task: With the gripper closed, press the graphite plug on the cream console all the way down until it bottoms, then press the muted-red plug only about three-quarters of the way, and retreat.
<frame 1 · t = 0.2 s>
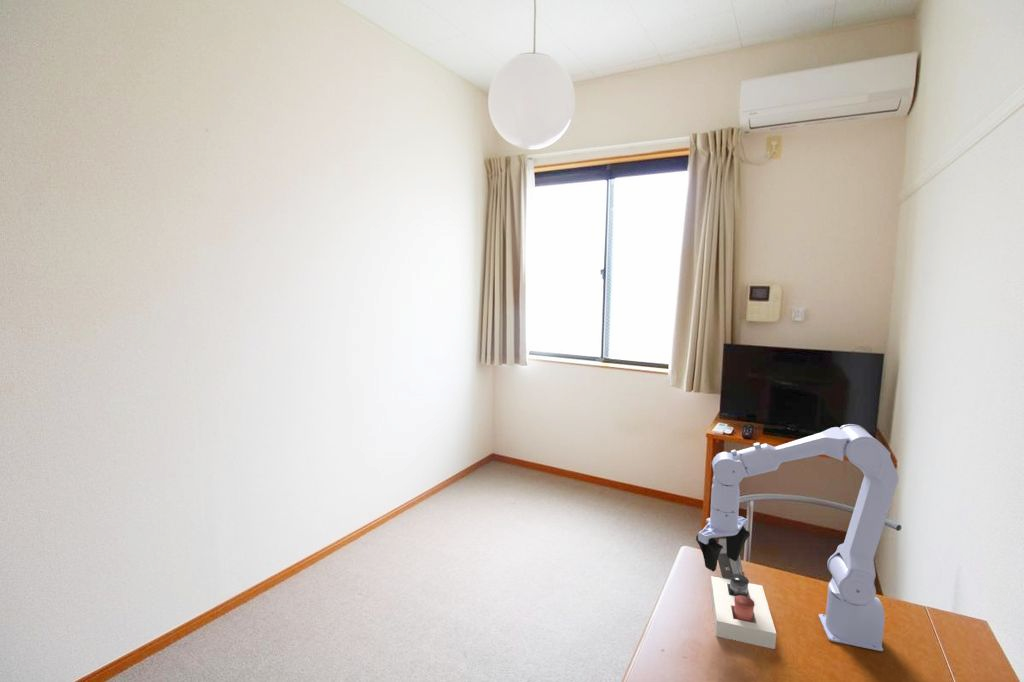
hand: (721, 563, 108), 10 cm above the table, tool pointing down, fingers open, 7 cm apart
electrical switch: (729, 577, 120), on the table
console: (739, 616, 106), on the table
red plug: (743, 609, 101), point 5 cm above the table, slide at 0.0 cm
graphite plug: (738, 586, 109), point 5 cm above the table, slide at 0.0 cm
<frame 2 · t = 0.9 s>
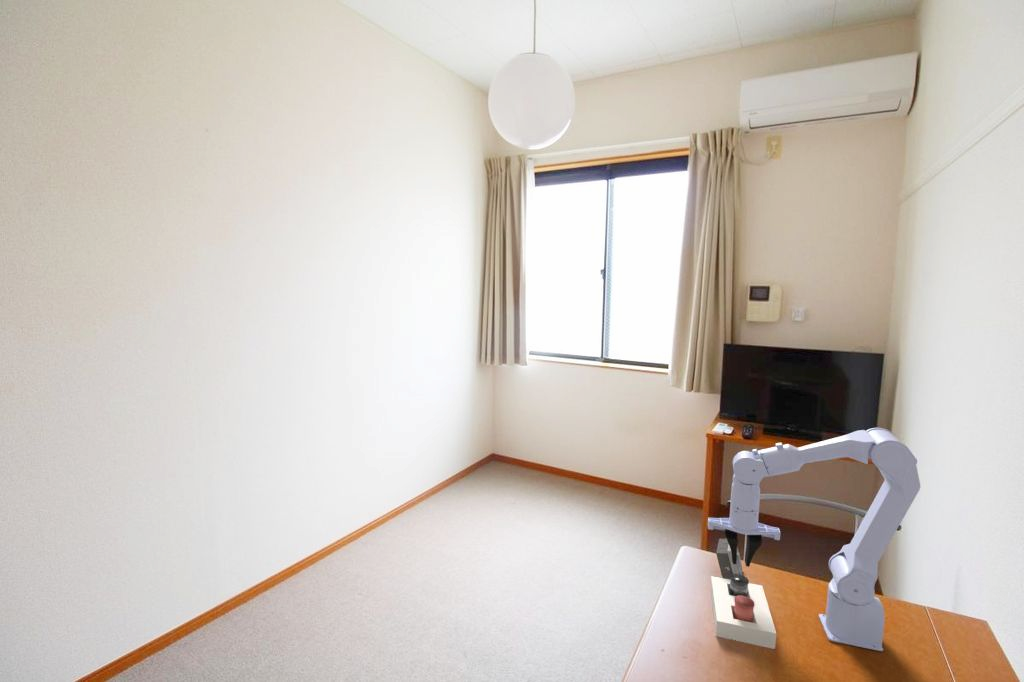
hand: (740, 562, 108), 10 cm above the table, tool pointing down, fingers closed
nothing on the table moved.
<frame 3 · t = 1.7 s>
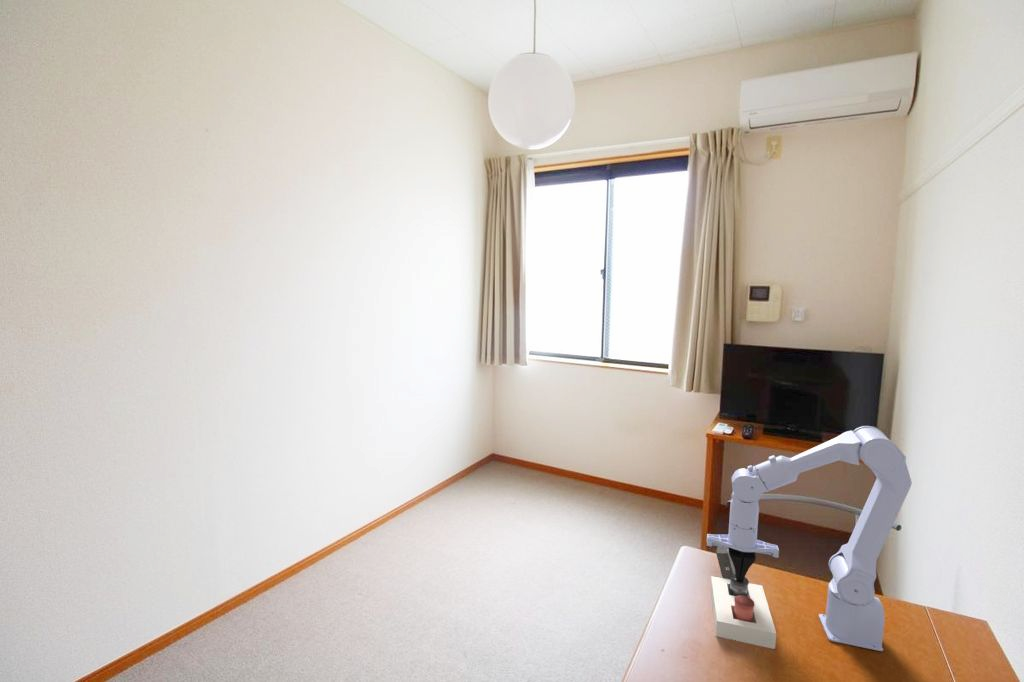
hand: (739, 579, 109), 6 cm above the table, tool pointing down, fingers closed, pressing on graphite plug
graphite plug: (738, 587, 109), point 4 cm above the table, slide at 0.1 cm, touching gripper
everything else where it was.
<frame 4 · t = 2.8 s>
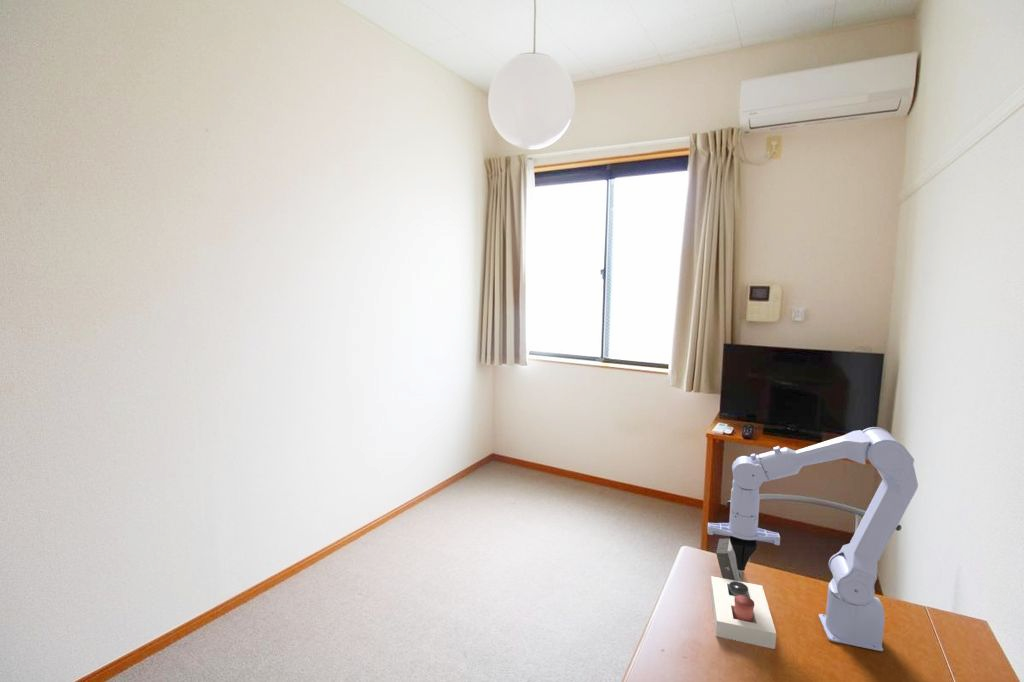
hand: (740, 567, 108), 9 cm above the table, tool pointing down, fingers closed
graphite plug: (738, 594, 109), point 3 cm above the table, slide at 1.9 cm
everything else where it was.
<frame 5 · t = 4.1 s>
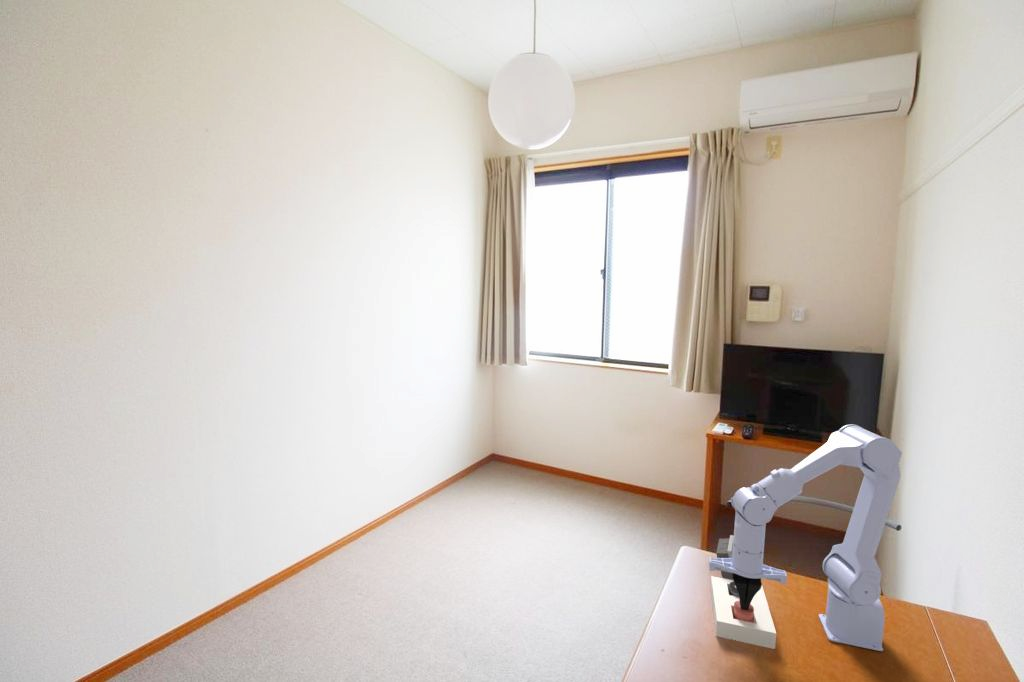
hand: (743, 606, 101), 5 cm above the table, tool pointing down, fingers closed, pressing on red plug
red plug: (743, 615, 101), point 3 cm above the table, slide at 1.3 cm, touching gripper
everything else where it was.
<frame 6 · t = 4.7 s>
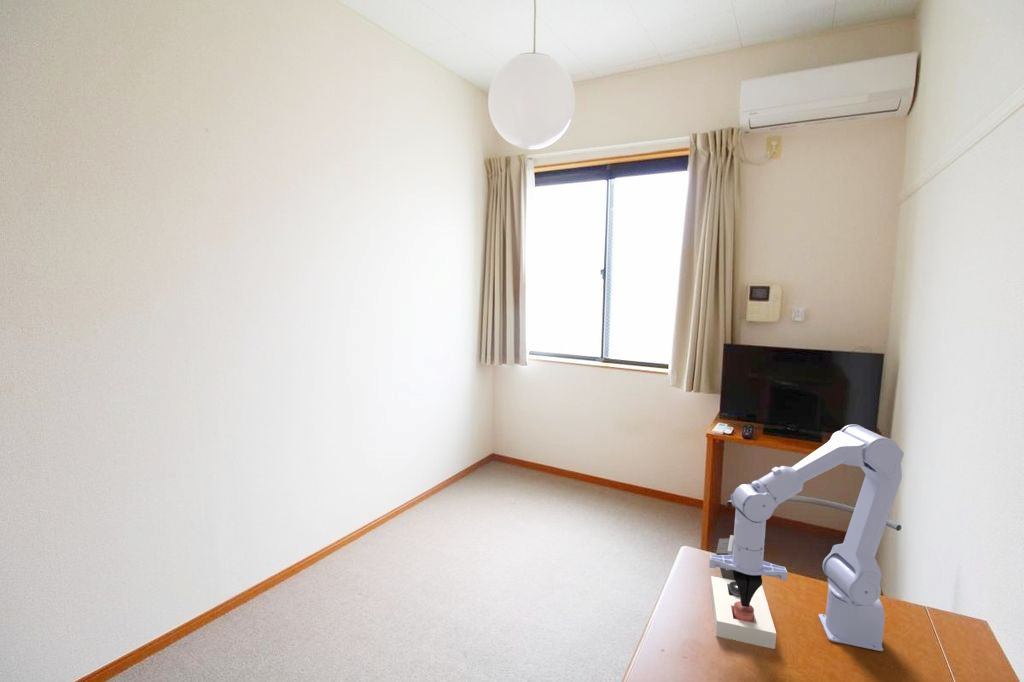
hand: (744, 603, 101), 6 cm above the table, tool pointing down, fingers closed
red plug: (743, 615, 101), point 3 cm above the table, slide at 1.4 cm
everything else where it was.
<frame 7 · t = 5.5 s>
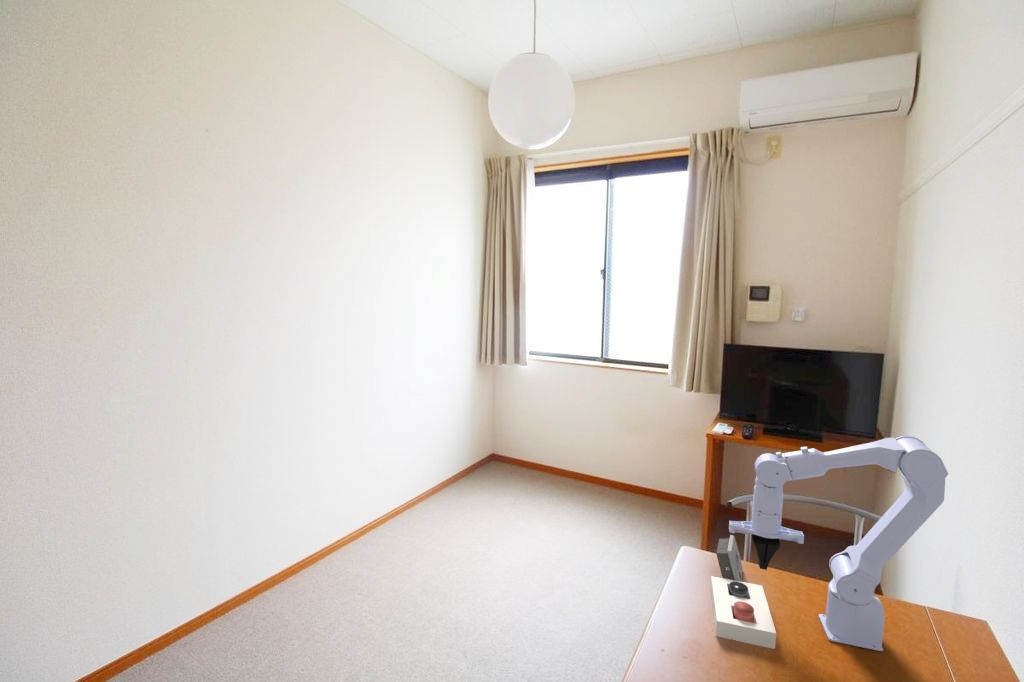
hand: (762, 566, 107), 10 cm above the table, tool pointing down, fingers closed
nothing on the table moved.
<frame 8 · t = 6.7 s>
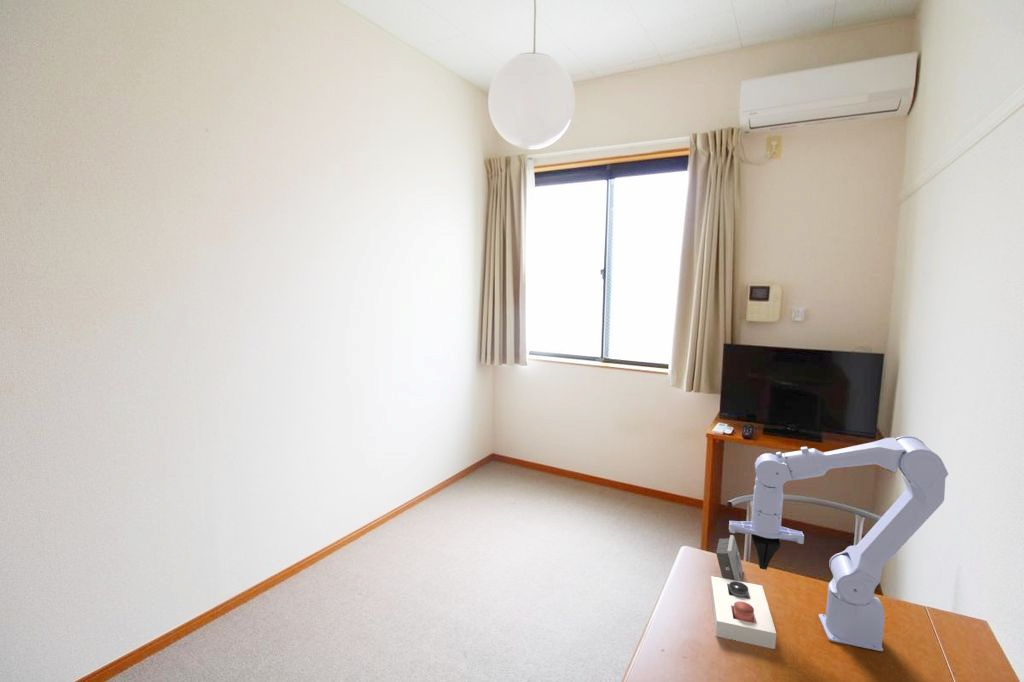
hand: (762, 566, 107), 10 cm above the table, tool pointing down, fingers closed
nothing on the table moved.
at the end: graphite plug slide at 1.9 cm; red plug slide at 1.4 cm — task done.
